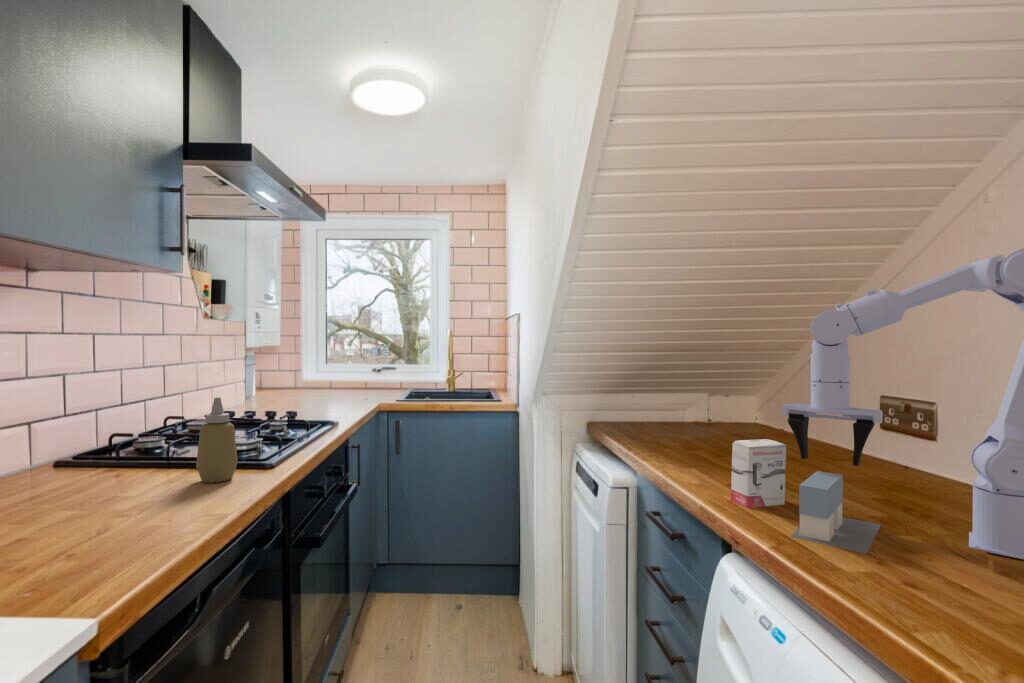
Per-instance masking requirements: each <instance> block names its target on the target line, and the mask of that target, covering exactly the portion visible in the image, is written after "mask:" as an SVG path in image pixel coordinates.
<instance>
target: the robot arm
mask: <svg viewBox="0 0 1024 683" xmlns="http://www.w3.org/2000/svg"><path fill="white" fill-rule="evenodd" d="M989 290H990V291H991V292H992V293H993V294H996V295H998V296H999V297H1001V298H1003V299H1005V300H1007V301H1009V302H1010V303H1013V304H1014V305H1015V306H1016V307H1017V308H1018V309H1019V310H1020V312H1022V314H1024V247H1023V248H1019V249H1017V250H1014V251H1012V252H1010V253H1009V254H1007V255H1006V256H1004V254H1000V255H996V256H991V257H988V258H984V259H980V260H978V261H977V260H976V261H974V262H971V263H966V264H965V265H961V266H959V267H957V268H955V269H952V270H949V271H948V272H947V271H946V272H945V273H943V274H940V275H938V276H936V277H932V278H930V279H928V280H925V281H922V282H921V283H918V284H916V285H913V286H910V287H908V288H906V289H904V290H901V291H899V292H896V291H895V292H894V291H891V290H888V289H880V290H876V289H875V288H874V289H871V290H870V289H869V290H868V291H866V292H865V296H863V297H860V298H857V299H855V300H852V301H849V302H848V303H844V304H842V302H839V303H836V304H835V305H834V308H835V309H825V310H824V311H823V312H820V313H818V314H817V315H815V317H814V318H813V319H812V321H811V323H810V330H809V331H810V334H811V336H812V338H813V340H812V343H811V351H812V353H811V354H810V404H801V403H800V404H799V403H784V404H782V405H781V416H787V417H788V418H787V423H788V425H789V427H790V429H791V430H792V432H793V434H794V435H793V436H794V437H795V439H796V442H797V445H798V446H797V447H798V448H799V454H800V459H801V460H807V459H808V458H809V442H808V441H809V440H808V436H809V434H808V433H809V424H810V423H809V421H810V418H818V419H830V420H841V421H851V422H853V421H854V422H853V423H852V430H853V431H852V432H853V456H852V465H853V466H855V467H859V466H860V465H861V460H862V459H861V458H862V453H863V450H864V448H865V444H866V442H867V440H868V438H869V436H870V434H871V432H872V430H873V429H874V427H875V425H876V424H882V423H883V410H878V409H868V408H860V407H859V408H858V407H851V392H850V391H851V387H850V386H851V357H850V356H851V355H850V354H849V340H848V339H849V338H850V336H851V335H854V336H857V337H861V336H863V335H866V334H868V333H871V332H874V331H876V330H877V331H878V330H879V329H882V328H884V327H888V326H891V325H894V324H896V323H899V322H901V320H902V319H903V317H904V315H905V312H906V311H907V310H910V309H912V308H915V307H918V306H922V305H924V304H926V303H927V304H928V303H929V302H933V301H935V300H939V299H942V298H945V297H947V296H951V295H953V294H956V293H960V292H962V291H963V292H964V291H965V292H966V291H969V292H980V293H981V292H982V293H983V292H986V291H989ZM839 415H841V416H839ZM970 462H971V465H972V467H973V468H974V470H975V471H976V472H978V476H977V477H976V478H975V479H974V480H972V531H968V547H969V548H970V549H974V550H979V551H980V550H981V551H984V552H987V553H990V554H993V555H1000V556H1004V557H1011V558H1015V559H1020V560H1024V338H1023V339H1022V342H1021V345H1020V348H1019V351H1018V354H1017V357H1016V360H1015V363H1014V365H1013V369H1012V371H1011V375H1010V378H1009V380H1008V384H1007V386H1006V389H1005V392H1004V395H1003V398H1002V401H1001V404H1000V407H999V409H998V413H997V415H996V418H995V420H994V422H993V423H992V424H991V425H990V427H989V428H988V429H987V430H986V433H985V436H984V438H982V440H981V441H980V442H978V443H977V444H976V445H975V446H974V448H973V449H972V450H971V452H970Z"/></svg>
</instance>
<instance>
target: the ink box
mask: <svg viewBox="0 0 1024 683" xmlns="http://www.w3.org/2000/svg"><path fill="white" fill-rule="evenodd" d="M731 452H732V455H731V480H730V481H731V482H730V483H731V484H730V485H731V486H730V488H731V489H730V502H732V503H734V504H737V505H739V506H742V507H744V508H747V509H751V508H752V509H753V508H754V509H755V508H763V507H773V506H774V507H775V506H782V505H785V504H786V503H785V499H786V498H785V497H786V496H785V495H786V469H787V468H786V466H787V465H786V464H787V463H786V462H787V461H786V460H787V444H784V443H782V442H779V441H778V440H774V439H768V438H764V439H763V438H762V439H743V440H742V439H741V440H734V442H732V451H731Z"/></svg>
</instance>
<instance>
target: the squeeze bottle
mask: <svg viewBox="0 0 1024 683" xmlns="http://www.w3.org/2000/svg"><path fill="white" fill-rule="evenodd" d="M204 418H205V419H204V420H205V421H204V422H205V423H204V424H203V425H201V426H200V428H199V437H198V448H197V454H196V464H195V467H196V469H197V473H198V474H199V477H200V480H201V482H203V483H208V484H209V483H211V484H213V483H215V482H216V483H223V482H227V481H230V480H231V479H233V476H234V474H235V472H236V469H237V465H238V463H239V462H238V461H239V460H238V451H237V442H236V433H235V425H234V424H233V423H231V422H230V413H229V412H226V413H225V411H224V407H223V402H222V398H221V397H214V398H213V402H212V407H211V411H210V413H209V414H205V417H204ZM222 481H223V482H222Z"/></svg>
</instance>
